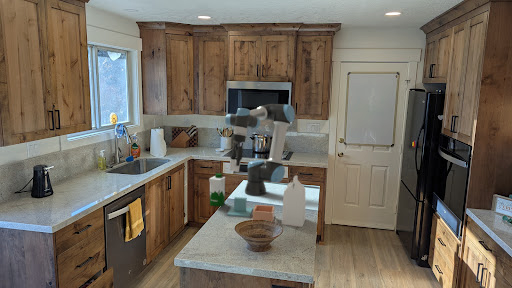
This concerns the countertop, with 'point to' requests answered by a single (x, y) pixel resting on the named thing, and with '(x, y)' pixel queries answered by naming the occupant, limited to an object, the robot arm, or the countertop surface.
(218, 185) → the milk carton
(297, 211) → the milk
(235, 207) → the lid
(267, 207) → the pot
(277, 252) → the countertop surface
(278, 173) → the robot arm
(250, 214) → the mat
